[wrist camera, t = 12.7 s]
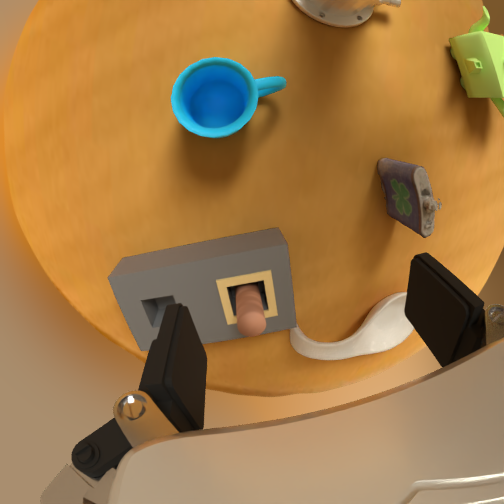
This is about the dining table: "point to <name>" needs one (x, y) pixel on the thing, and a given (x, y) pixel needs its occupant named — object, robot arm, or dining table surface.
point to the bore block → (206, 285)
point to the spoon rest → (362, 333)
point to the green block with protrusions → (481, 62)
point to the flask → (408, 195)
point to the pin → (249, 309)
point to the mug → (219, 96)
